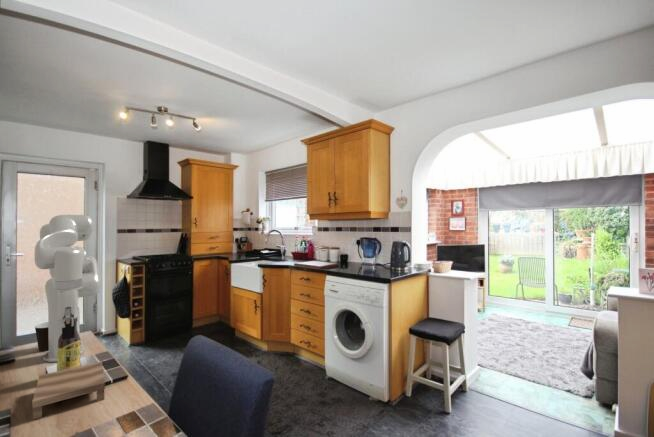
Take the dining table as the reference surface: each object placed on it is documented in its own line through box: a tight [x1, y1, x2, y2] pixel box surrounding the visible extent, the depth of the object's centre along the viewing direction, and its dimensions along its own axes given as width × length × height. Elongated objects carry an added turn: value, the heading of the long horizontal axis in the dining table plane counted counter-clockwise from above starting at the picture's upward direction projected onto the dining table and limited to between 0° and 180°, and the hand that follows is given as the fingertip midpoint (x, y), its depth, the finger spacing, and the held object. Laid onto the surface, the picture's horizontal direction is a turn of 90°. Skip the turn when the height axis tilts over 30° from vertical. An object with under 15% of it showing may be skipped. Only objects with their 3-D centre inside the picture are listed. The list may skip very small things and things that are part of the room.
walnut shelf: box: [31, 361, 106, 420], centre depth 97 cm, size 18×16×5 cm
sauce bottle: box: [56, 317, 82, 372], centre depth 109 cm, size 7×6×20 cm
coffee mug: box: [34, 321, 49, 353], centre depth 133 cm, size 12×9×10 cm
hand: (68, 334), depth 109 cm, fingers open, 9 cm apart
